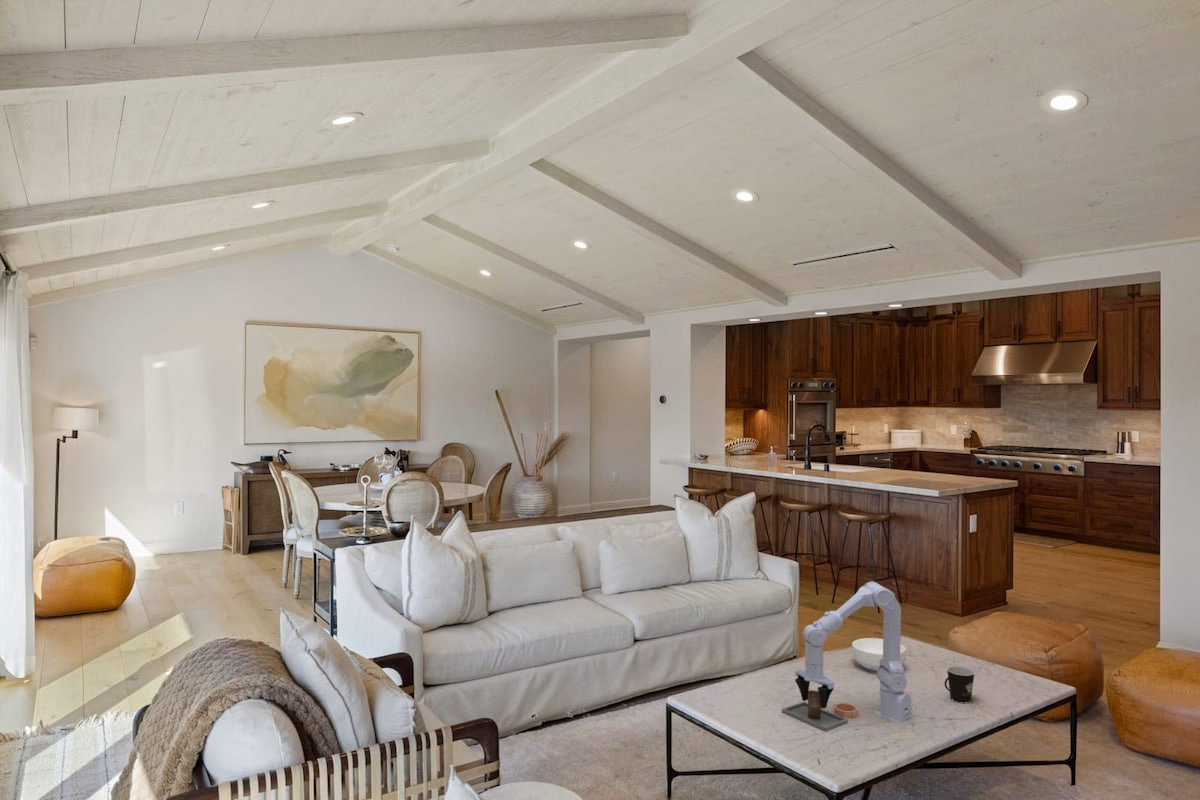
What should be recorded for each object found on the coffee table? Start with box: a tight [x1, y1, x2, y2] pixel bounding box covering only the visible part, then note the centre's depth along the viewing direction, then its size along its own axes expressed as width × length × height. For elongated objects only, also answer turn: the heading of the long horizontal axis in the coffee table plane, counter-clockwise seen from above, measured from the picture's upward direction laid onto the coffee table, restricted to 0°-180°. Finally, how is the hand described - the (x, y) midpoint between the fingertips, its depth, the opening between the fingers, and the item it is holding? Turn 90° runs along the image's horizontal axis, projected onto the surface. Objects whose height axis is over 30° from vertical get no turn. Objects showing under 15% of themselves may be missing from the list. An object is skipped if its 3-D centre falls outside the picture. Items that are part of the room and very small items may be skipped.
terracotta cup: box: [832, 702, 860, 720], centre depth 259 cm, size 8×8×2 cm
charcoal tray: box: [781, 701, 849, 733], centre depth 256 cm, size 18×11×2 cm, turn 35°
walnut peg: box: [807, 689, 822, 719], centre depth 256 cm, size 4×4×8 cm
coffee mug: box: [944, 666, 975, 703], centre depth 271 cm, size 12×9×10 cm
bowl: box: [851, 637, 907, 672], centre depth 303 cm, size 20×20×8 cm
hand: (814, 703), depth 256 cm, fingers open, 7 cm apart
